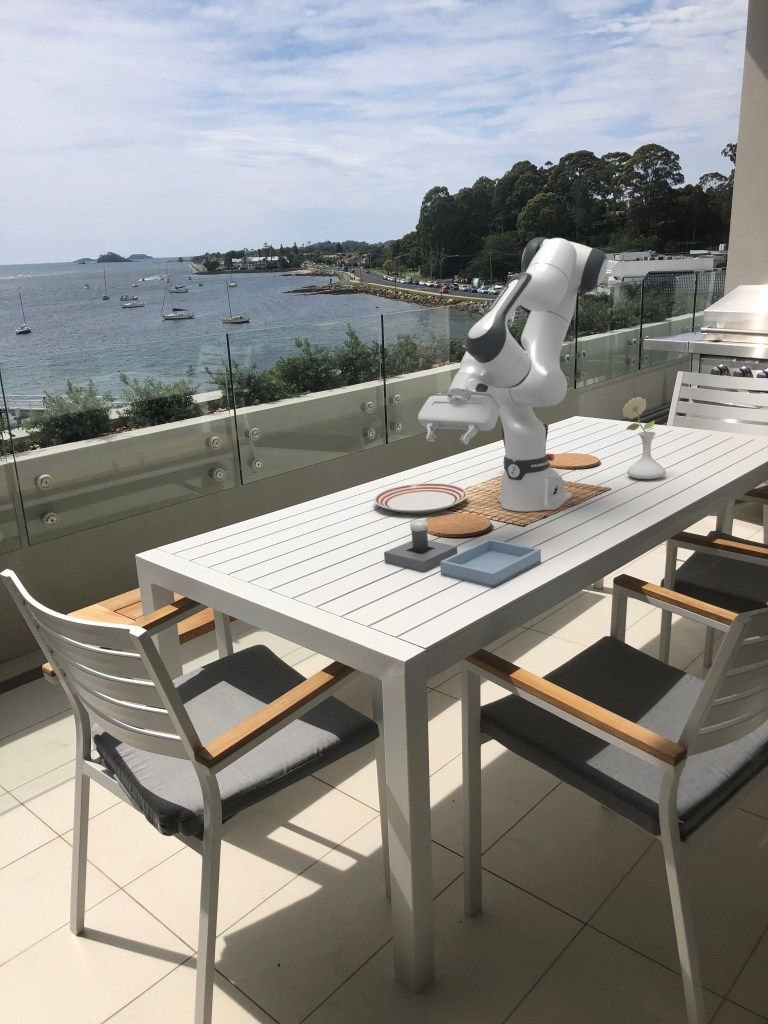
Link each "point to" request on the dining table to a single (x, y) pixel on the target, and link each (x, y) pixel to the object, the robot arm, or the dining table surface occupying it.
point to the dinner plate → (421, 497)
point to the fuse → (419, 536)
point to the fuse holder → (419, 556)
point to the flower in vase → (646, 464)
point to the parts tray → (490, 562)
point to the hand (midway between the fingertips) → (446, 441)
